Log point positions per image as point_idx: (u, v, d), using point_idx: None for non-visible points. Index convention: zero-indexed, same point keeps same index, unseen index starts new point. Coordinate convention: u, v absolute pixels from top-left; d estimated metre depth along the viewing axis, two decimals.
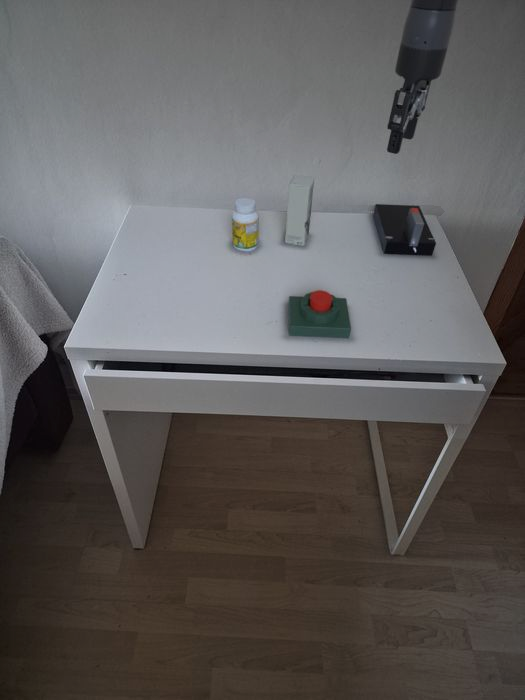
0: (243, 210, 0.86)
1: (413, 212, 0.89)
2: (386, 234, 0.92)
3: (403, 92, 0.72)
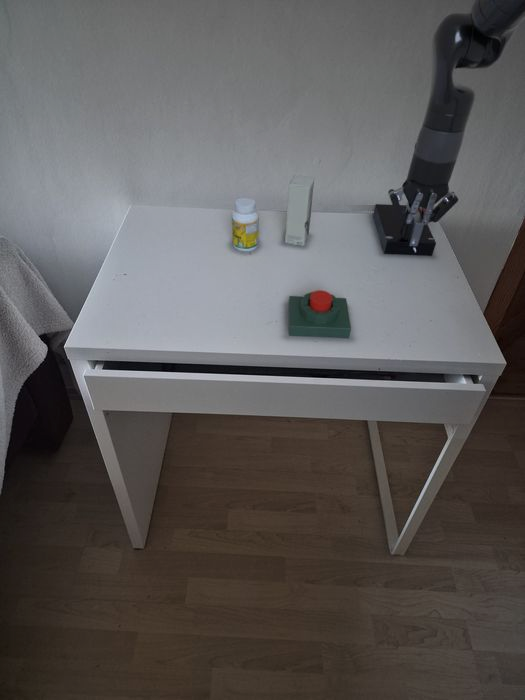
0: (243, 210, 0.86)
1: None
2: (386, 234, 0.92)
3: (390, 193, 0.84)
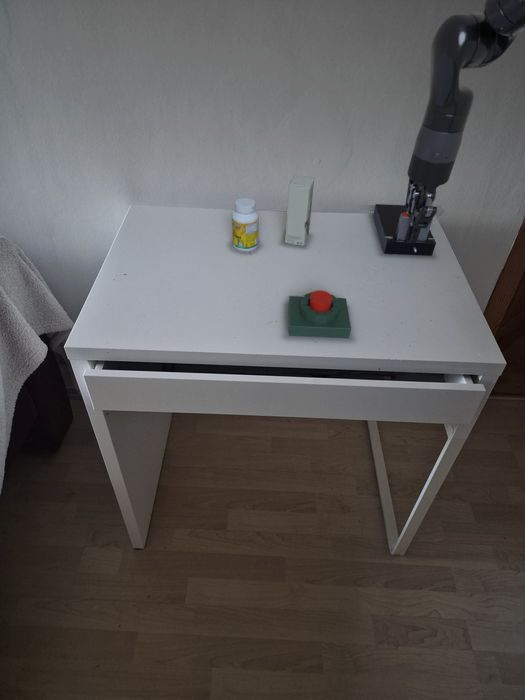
0: (243, 210, 0.86)
1: (410, 216, 0.87)
2: (386, 234, 0.92)
3: (430, 209, 0.80)
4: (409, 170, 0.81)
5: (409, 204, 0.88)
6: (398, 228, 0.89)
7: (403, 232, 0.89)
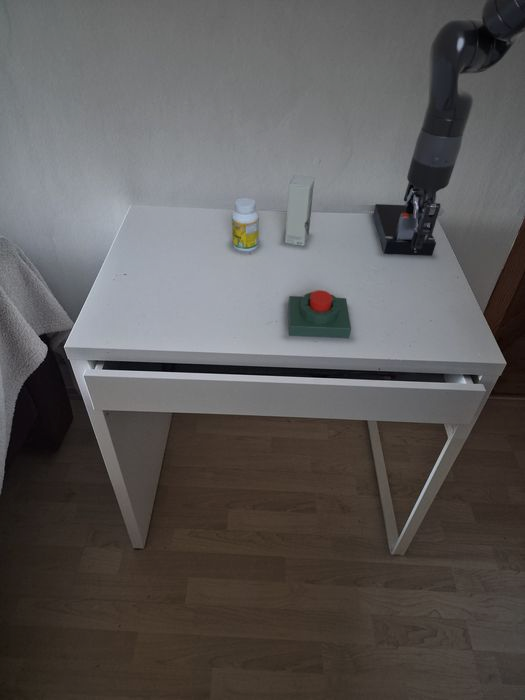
0: (243, 210, 0.86)
1: (410, 216, 0.87)
2: (386, 234, 0.92)
3: (433, 204, 0.79)
4: (409, 174, 0.82)
5: (408, 202, 0.89)
6: (398, 228, 0.89)
7: (403, 232, 0.89)
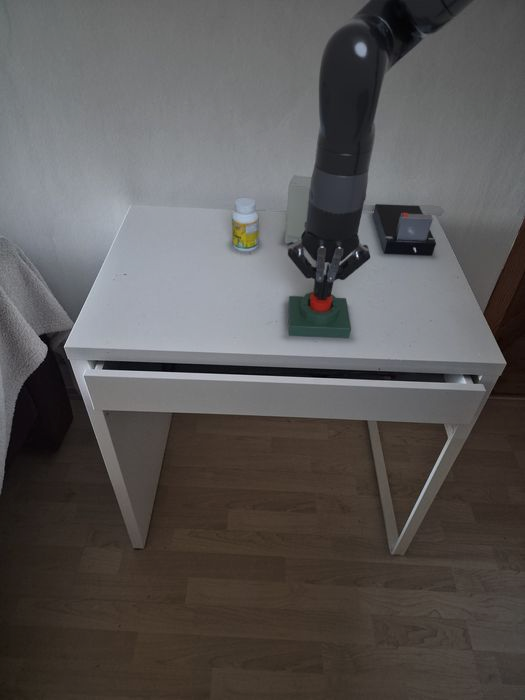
0: (243, 210, 0.86)
1: (410, 216, 0.87)
2: (386, 234, 0.92)
3: None
4: (337, 233, 0.61)
5: (324, 268, 0.67)
6: (398, 228, 0.89)
7: (403, 232, 0.89)
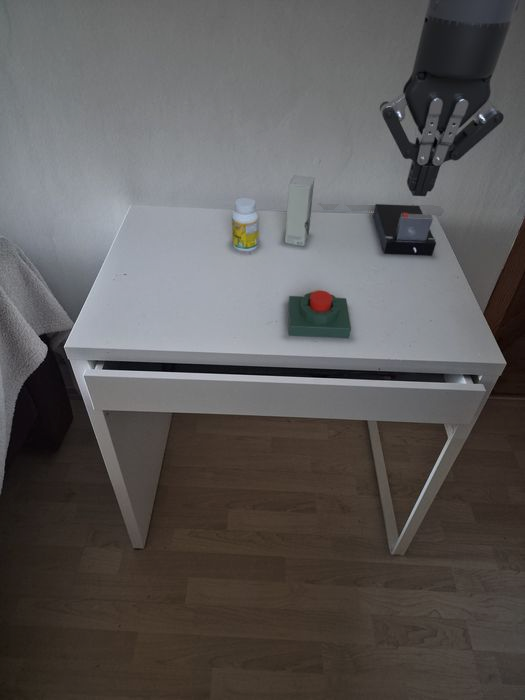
0: (243, 210, 0.86)
1: (410, 216, 0.87)
2: (386, 234, 0.92)
3: None
4: (471, 64, 0.40)
5: (433, 138, 0.47)
6: (398, 228, 0.89)
7: (403, 232, 0.89)
